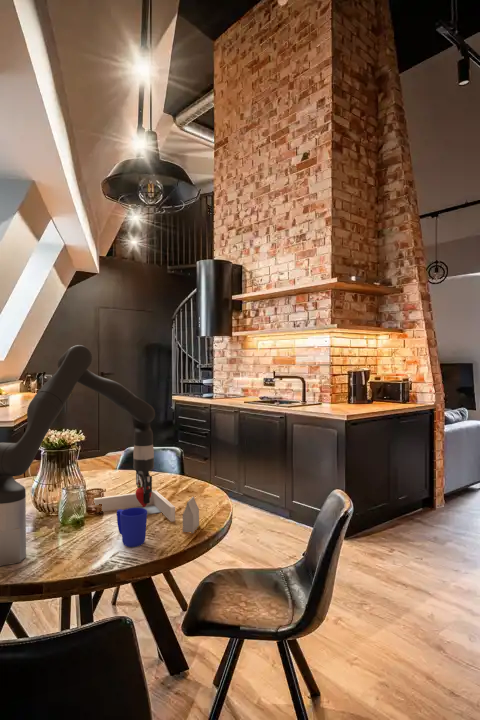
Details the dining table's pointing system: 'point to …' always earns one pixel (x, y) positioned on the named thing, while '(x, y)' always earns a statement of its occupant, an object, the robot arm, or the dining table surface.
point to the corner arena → (138, 504)
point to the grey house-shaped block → (191, 516)
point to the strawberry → (141, 495)
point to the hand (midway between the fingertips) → (143, 500)
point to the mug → (132, 526)
